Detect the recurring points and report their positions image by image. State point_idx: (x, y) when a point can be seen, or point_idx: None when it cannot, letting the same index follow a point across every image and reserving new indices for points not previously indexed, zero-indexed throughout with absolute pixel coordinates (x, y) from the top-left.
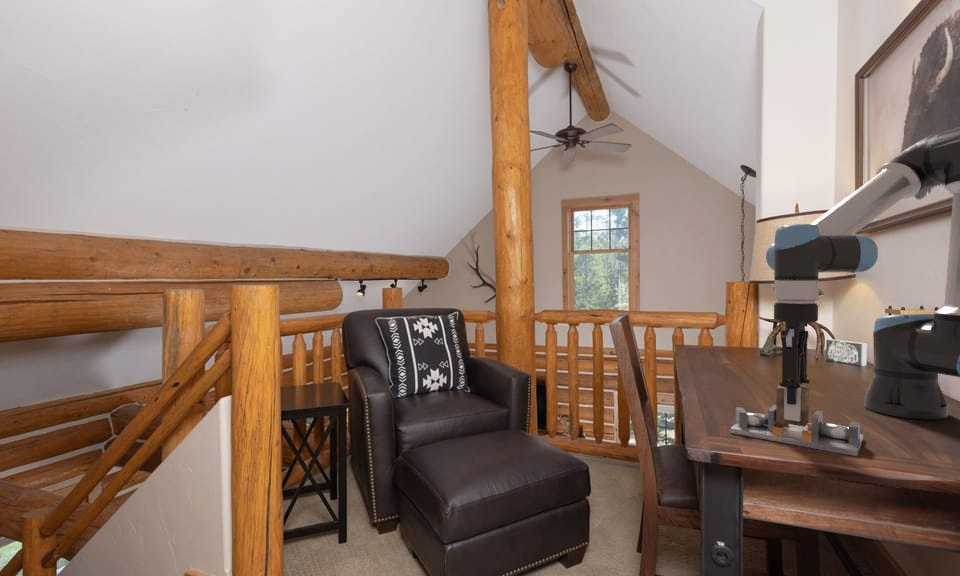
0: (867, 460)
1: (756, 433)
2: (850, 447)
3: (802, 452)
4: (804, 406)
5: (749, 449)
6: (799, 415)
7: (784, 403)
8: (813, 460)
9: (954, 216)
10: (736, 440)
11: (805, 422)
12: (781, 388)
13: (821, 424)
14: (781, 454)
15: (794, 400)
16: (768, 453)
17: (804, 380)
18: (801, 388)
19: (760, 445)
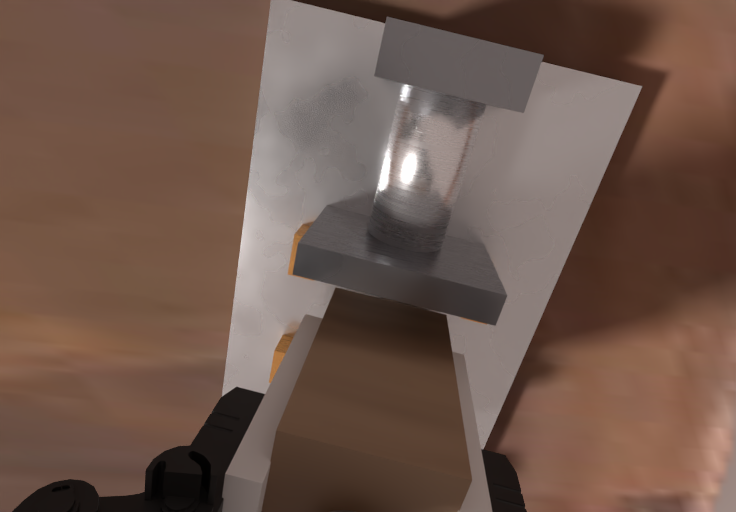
0: (660, 41)
1: None
2: (584, 111)
3: (612, 306)
4: (457, 391)
5: (632, 471)
6: (466, 378)
7: None
8: (723, 280)
9: None
10: (525, 498)
11: (433, 321)
12: None
13: (428, 245)
14: (667, 381)
15: (518, 489)
16: (667, 421)
17: (199, 508)
18: (339, 489)
19: (563, 435)
